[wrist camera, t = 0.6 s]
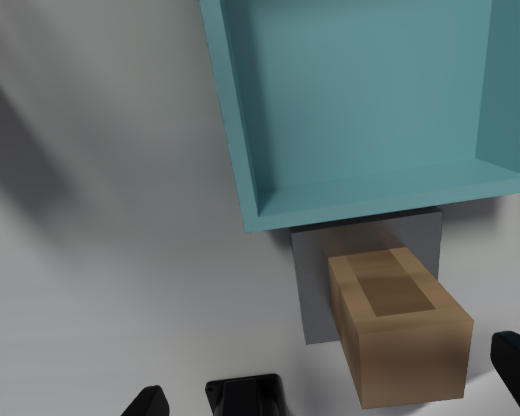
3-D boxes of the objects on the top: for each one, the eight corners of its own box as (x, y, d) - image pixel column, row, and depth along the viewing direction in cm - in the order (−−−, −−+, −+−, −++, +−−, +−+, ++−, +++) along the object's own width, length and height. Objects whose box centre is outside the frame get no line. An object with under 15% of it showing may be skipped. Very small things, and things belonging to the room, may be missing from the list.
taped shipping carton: (404, 308, 23) (463, 398, 16) (333, 318, 23) (362, 409, 17) (406, 246, 21) (473, 320, 14) (327, 258, 21) (358, 335, 15)
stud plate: (427, 319, 24) (471, 379, 19) (304, 334, 25) (316, 397, 20) (434, 205, 21) (490, 244, 16) (289, 227, 21) (299, 270, 16)
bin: (475, 164, 20) (543, 189, 15) (248, 199, 20) (245, 233, 16) (510, -149, 14) (635, -263, 9) (195, -84, 15) (167, -159, 10)
